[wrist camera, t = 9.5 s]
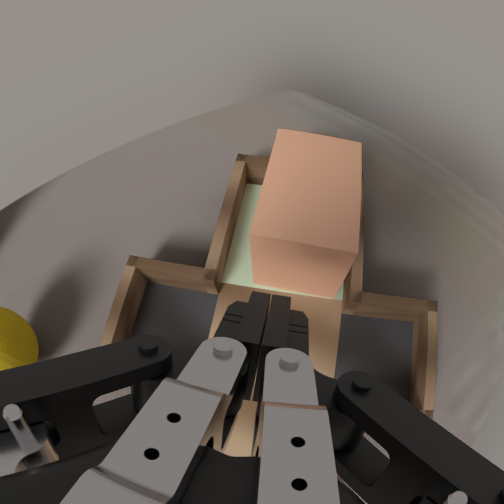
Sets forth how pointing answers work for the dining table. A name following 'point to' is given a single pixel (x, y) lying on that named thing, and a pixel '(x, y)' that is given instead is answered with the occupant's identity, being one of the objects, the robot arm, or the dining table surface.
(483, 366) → the dining table surface
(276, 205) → the block
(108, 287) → the dining table surface
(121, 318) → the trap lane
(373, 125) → the dining table surface
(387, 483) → the robot arm
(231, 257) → the pad
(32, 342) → the lemon
